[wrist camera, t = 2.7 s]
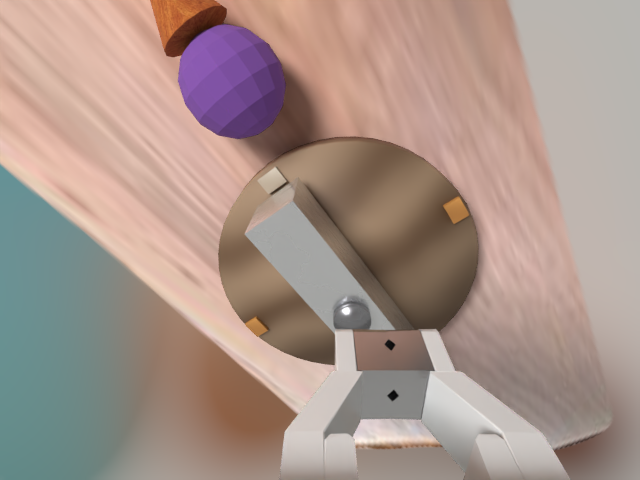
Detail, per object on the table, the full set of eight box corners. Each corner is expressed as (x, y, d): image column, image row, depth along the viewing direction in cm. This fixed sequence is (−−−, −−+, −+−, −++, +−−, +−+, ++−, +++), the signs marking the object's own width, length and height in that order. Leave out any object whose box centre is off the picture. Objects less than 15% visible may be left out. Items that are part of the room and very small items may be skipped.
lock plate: (173, 234, 28) (159, 249, 26) (388, 74, 22) (395, 75, 20) (318, 377, 35) (318, 400, 33) (507, 283, 30) (522, 302, 27)
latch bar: (257, 205, 24) (242, 238, 19) (298, 176, 23) (291, 204, 18) (385, 355, 30) (395, 407, 25) (421, 337, 29) (438, 388, 24)
